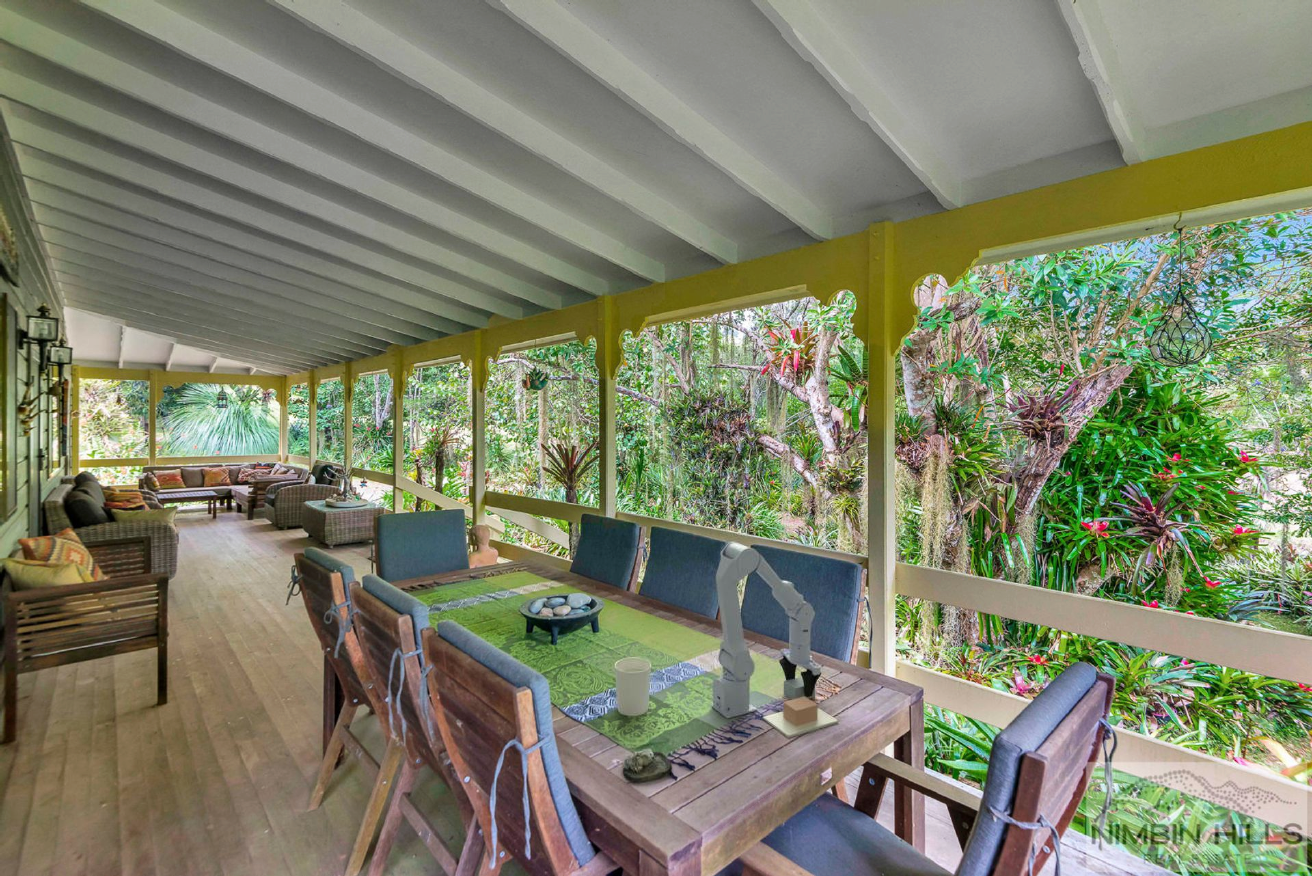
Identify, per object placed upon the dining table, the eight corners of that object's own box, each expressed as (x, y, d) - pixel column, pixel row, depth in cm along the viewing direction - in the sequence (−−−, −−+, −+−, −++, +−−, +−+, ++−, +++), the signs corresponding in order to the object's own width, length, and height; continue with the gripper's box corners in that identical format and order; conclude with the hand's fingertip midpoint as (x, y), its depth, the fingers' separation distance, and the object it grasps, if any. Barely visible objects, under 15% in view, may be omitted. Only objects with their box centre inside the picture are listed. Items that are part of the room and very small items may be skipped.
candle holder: (609, 714, 153) (609, 669, 152) (622, 697, 162) (622, 655, 162) (644, 720, 150) (644, 674, 149) (655, 702, 159) (655, 659, 159)
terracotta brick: (795, 726, 146) (796, 710, 145) (783, 717, 150) (783, 702, 150) (817, 720, 149) (817, 704, 148) (804, 711, 153) (804, 696, 153)
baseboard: (788, 737, 141) (788, 735, 141) (763, 719, 150) (763, 716, 150) (837, 722, 148) (837, 720, 148) (811, 705, 157) (811, 703, 157)
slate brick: (795, 702, 159) (795, 688, 159) (783, 695, 164) (783, 681, 164) (815, 697, 162) (815, 683, 162) (803, 690, 167) (803, 676, 167)
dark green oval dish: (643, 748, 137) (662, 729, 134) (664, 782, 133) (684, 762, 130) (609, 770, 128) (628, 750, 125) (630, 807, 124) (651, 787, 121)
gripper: (828, 649, 158) (828, 698, 158) (794, 631, 171) (793, 677, 171) (808, 653, 155) (808, 703, 155) (774, 635, 168) (774, 682, 168)
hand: (799, 690), depth 163 cm, fingers open, 7 cm apart
